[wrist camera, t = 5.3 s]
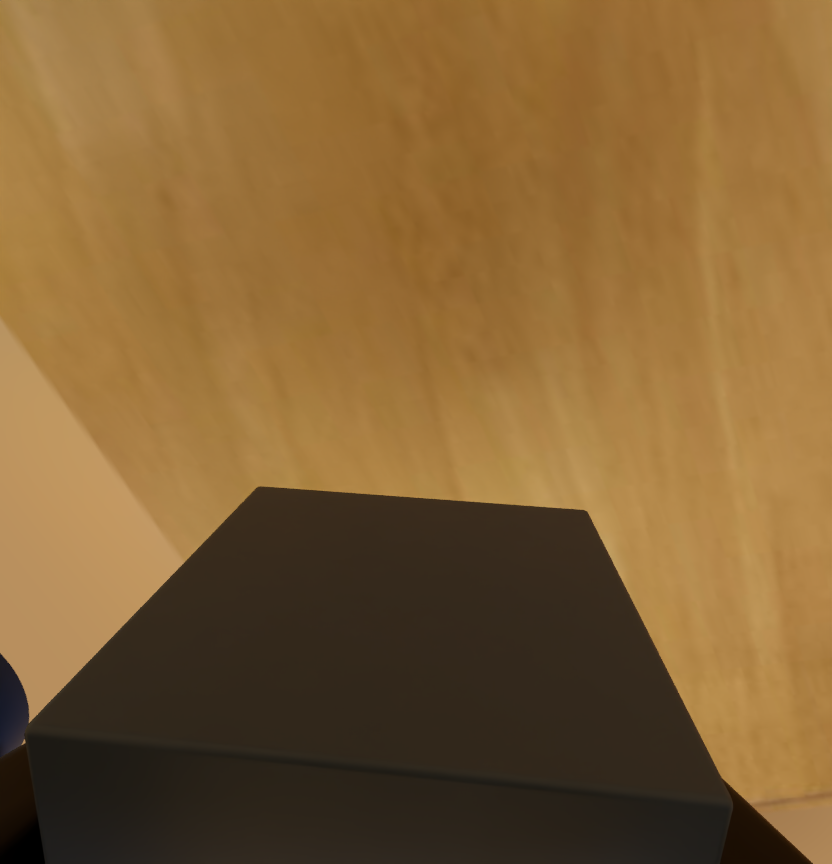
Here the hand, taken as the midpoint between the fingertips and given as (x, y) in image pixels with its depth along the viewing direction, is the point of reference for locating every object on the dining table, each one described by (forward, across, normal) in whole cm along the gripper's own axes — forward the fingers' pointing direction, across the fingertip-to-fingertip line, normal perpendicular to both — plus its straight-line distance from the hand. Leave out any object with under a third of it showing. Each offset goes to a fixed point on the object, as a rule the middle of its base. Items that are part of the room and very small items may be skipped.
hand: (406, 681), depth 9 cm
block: (+1, 0, 0) cm, 1 cm away
